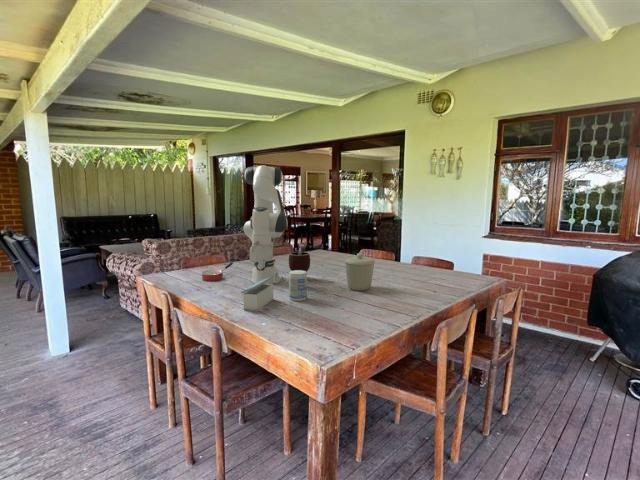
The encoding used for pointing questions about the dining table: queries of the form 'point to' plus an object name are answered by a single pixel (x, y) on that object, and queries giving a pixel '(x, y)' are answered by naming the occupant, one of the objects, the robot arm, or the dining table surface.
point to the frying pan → (214, 274)
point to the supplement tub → (297, 285)
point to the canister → (359, 272)
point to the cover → (256, 285)
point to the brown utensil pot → (299, 261)
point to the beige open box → (258, 297)
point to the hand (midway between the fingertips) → (262, 267)
